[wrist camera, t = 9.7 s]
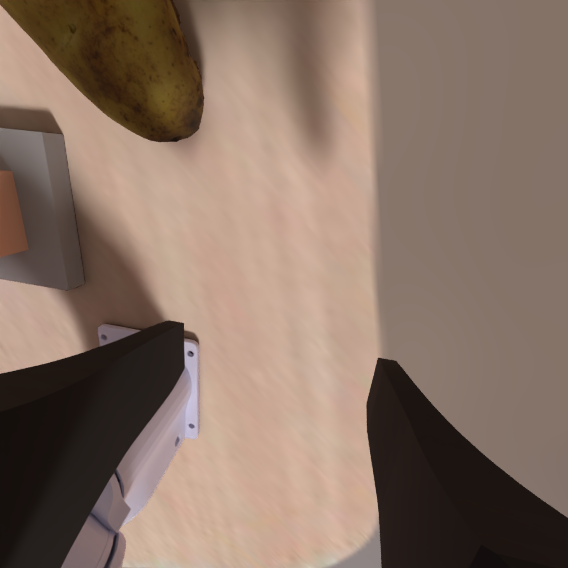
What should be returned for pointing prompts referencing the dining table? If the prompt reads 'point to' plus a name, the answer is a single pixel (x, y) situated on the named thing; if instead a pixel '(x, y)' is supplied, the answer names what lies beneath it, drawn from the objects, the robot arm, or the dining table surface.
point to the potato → (121, 59)
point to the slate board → (42, 211)
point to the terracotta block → (10, 217)
